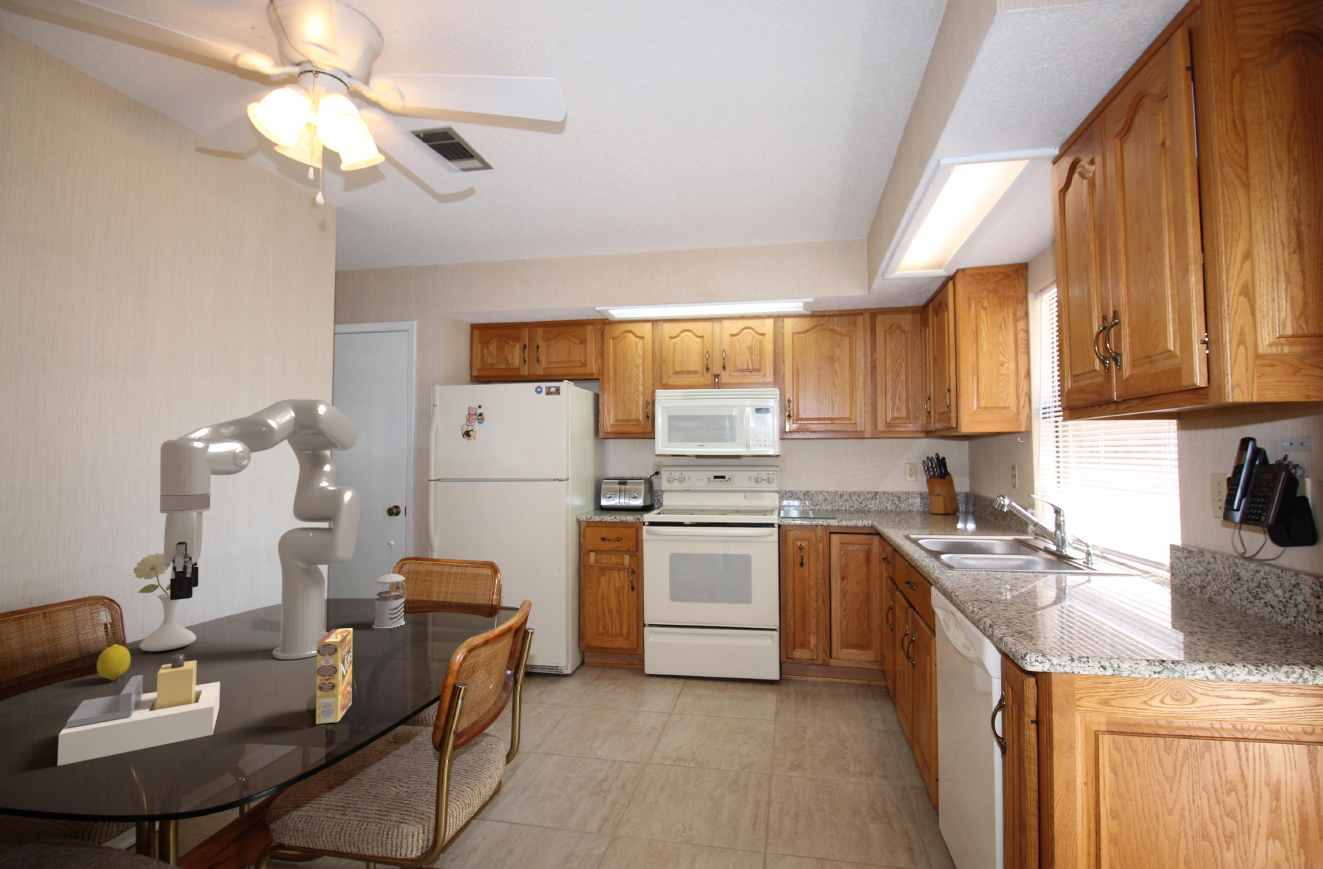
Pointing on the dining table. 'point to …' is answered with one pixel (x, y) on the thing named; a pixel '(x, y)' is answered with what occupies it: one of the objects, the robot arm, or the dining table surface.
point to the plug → (176, 683)
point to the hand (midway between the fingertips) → (184, 593)
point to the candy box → (334, 675)
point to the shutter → (109, 705)
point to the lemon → (113, 662)
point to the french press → (389, 601)
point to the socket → (142, 727)
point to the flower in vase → (169, 631)
